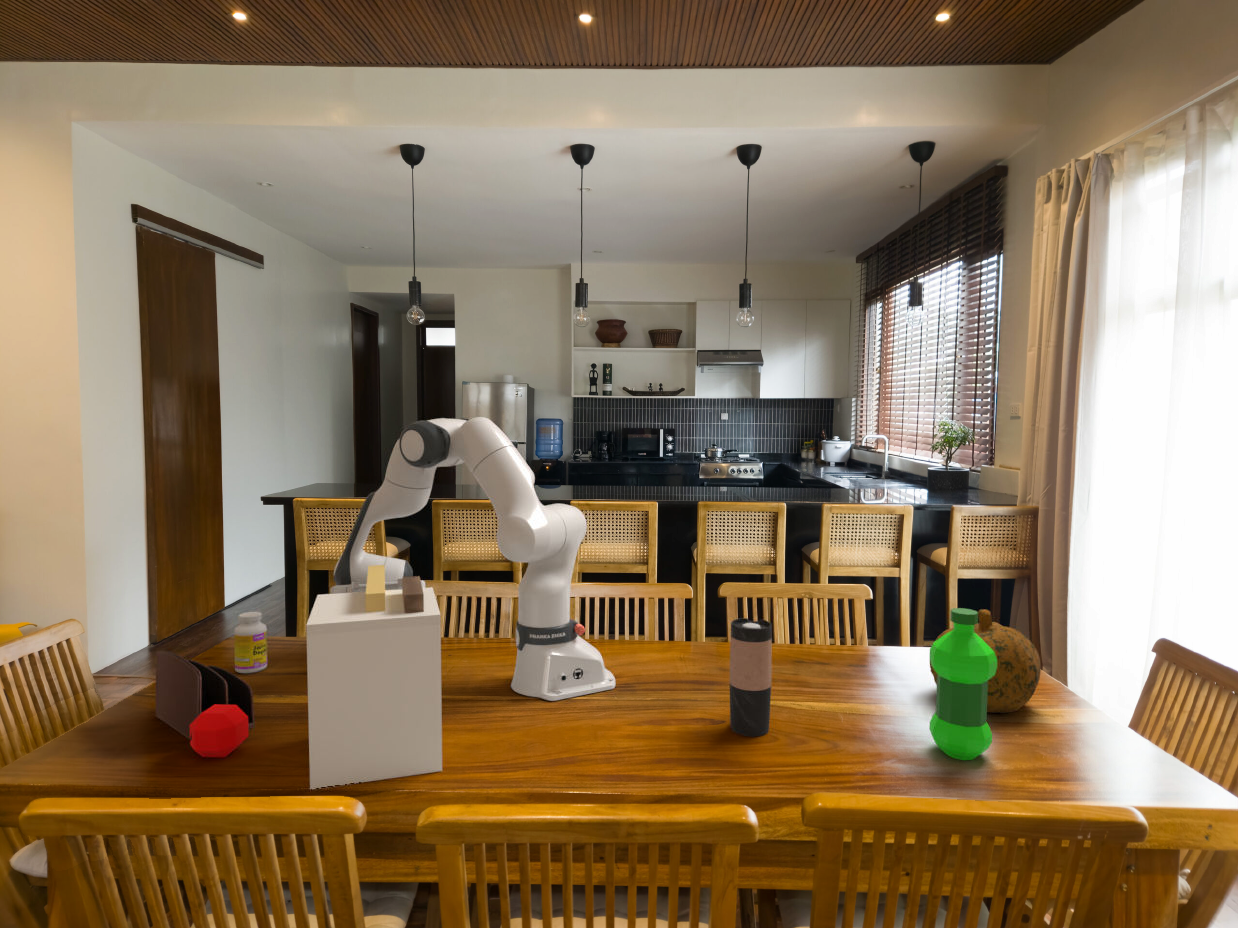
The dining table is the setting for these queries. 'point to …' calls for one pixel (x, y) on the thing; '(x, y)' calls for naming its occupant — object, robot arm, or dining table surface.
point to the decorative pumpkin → (1007, 665)
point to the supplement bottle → (250, 643)
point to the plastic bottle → (962, 688)
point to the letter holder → (196, 691)
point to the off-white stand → (373, 689)
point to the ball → (218, 730)
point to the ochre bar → (375, 589)
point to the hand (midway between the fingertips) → (378, 583)
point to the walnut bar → (412, 594)
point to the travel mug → (750, 676)
